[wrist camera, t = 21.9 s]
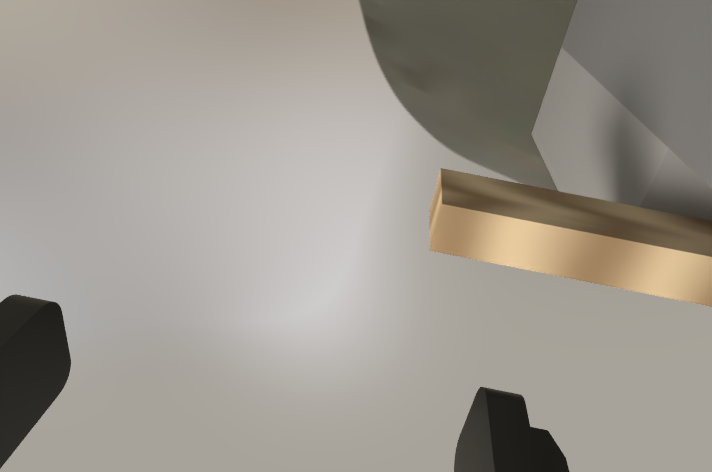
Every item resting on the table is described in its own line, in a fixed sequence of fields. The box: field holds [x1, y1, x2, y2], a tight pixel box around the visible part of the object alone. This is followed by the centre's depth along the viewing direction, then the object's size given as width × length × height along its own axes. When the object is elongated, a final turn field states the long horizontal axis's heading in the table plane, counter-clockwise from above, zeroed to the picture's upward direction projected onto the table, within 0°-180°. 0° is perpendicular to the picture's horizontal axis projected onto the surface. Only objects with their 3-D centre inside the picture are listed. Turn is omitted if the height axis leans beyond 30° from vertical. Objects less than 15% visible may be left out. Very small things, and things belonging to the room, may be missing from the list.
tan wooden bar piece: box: [429, 168, 712, 307], centre depth 25 cm, size 21×5×4 cm, turn 81°
